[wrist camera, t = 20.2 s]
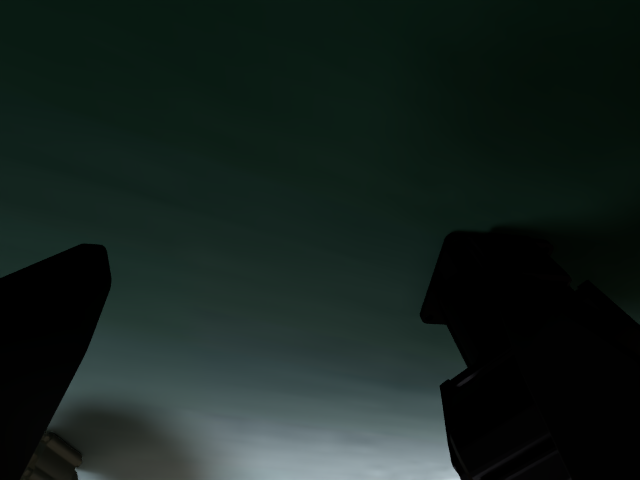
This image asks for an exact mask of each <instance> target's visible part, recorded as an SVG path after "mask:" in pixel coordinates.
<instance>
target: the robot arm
mask: <svg viewBox="0 0 640 480" xmlns="http://www.w3.org/2000/svg"><path fill="white" fill-rule="evenodd" d="M454 240H457V241H456V243H454V244H451V243H452V241H454ZM544 247H545V248H544ZM542 248H544V249H543V250H542ZM552 252H553V246H552V245H551V244H550V243H549V242H548V241H546V240H539V239H531V238H530V237H529V236H521V235H509V234H497V233H488V234H485V235H478V234H466V233H451V234H449V235H447V236H446V238H445V239H444V242H443V245H442V248H441V251H440V254H439V257H438V260H437V263H436V266H435V269H434V272H433V275H432V278H431V281H430V284H429V287H428V290H427V293H426V296H425V299H424V302H423V305H422V308H421V312H420V317H421V319H422V322H424V323H427V324H444V325H447V327H448V329H449V331H450V333H451V335H452V337H453V339H454V341H455V343H456V345H457V347H458V349H459V351H460V353H461V355H462V357H463V359H464V361H465V363H466V365H467V367H468V368H467V369H465V370H464V371H463V372H461V373H460V374H458V375H457V376H456V377H454V378H453V379H451V380H449V379H448V380H446V381H445V382H444V383H442V384H441V385H440V391H441V398H442V405H443V412H444V419H445V427H446V434H447V441H448V447H449V452H450V457H451V463H452V465H453V467H454V469H455V470H456V472H457V473H458V474H459V476H460V478H461V480H640V325H639V324H638V323H637V322H635V321H634V320H633V319H632V318H631V317H630V316H629V315H627V314H626V313H625V312H624V311H623V310H622V309H621V308H619V307H618V306H617V305H616V304H615V303H614V302H613V301H611V300H610V299H609V298H608V297H607V296H606V295H605V294H603V293H602V292H601V291H600V290H599V289H598V288H597V287H596V286H594V285H593V284H592V283H591V282H590V281H589V280H586V281H585V282H584V283H582V284H581V285H579V286H578V288H579V289H578V290H576V291H574V290H573V289H572V288H571V287H570V286H569V285H570V283H571V281H572V280H571V278H570V276H569V275H568V274H567V273H566V272H565V271H564V270H563V269H562V268H561V267H560V266H559V265H558V264H557V263H556V262H555V261H554V260H553V259H552V258H551V257H550V256H551V254H552ZM110 288H111V273H110V267H109V261H108V255H107V250H106V248H105V247H104V246H103V245H98V244H80V245H78V246H75V247H73V248H71V249H68V250H66V251H63V252H61V253H59V254H56V255H54V256H52V257H49V258H47V259H44V260H42V261H40V262H37V263H35V264H33V265H30V266H28V267H26V268H23V269H21V270H18V271H16V272H14V273H11V274H9V275H7V276H4V277H2V278H0V480H20V479H21V477H22V475H23V473H24V471H25V469H26V467H27V465H28V463H29V462H30V460H31V458H32V456H33V454H34V452H35V450H36V448H37V446H38V444H39V442H40V440H41V438H42V437H43V435H44V433H45V431H46V429H47V427H48V425H49V423H50V421H51V419H52V417H53V415H54V414H55V412H56V410H57V408H58V406H59V404H60V402H61V400H62V398H63V396H64V394H65V392H66V390H67V389H68V387H69V385H70V383H71V381H72V379H73V377H74V375H75V373H76V371H77V369H78V367H79V365H80V364H81V362H82V360H83V357H84V355H85V353H86V351H87V349H88V346H89V344H90V341H91V339H92V336H93V334H94V331H95V328H96V325H97V323H98V320H99V317H100V315H101V312H102V309H103V307H104V304H105V301H106V299H107V296H108V293H109V291H110ZM427 315H430V316H427ZM426 316H427V317H426Z"/></svg>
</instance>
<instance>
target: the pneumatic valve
mask: <svg viewBox="0 0 640 480" xmlns="http://www.w3.org/2000/svg"><path fill="white" fill-rule="evenodd" d="M81 463H82V455H81V454H80V453H79V452H77V451H76V450H75V449H73V448H72V447H71V446H69V445H68V444H67V443H65V442H64V441H63V440H61V439H60V438H59V437H57V436H56V435H55V434H53V433H50V434H48V433H44V435H43V437H42V438H41V440H40V442H39V444H38V446H37V448H36V450H35V452H34V454H33V456H32V458H31V460H30V462H29V463H28V465H27V467H26V469H25V471H24V473H23V475H22V477H21V479H20V480H78V475H77V472H76V471H75V468H76V467H78V466H80V465H81Z"/></svg>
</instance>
